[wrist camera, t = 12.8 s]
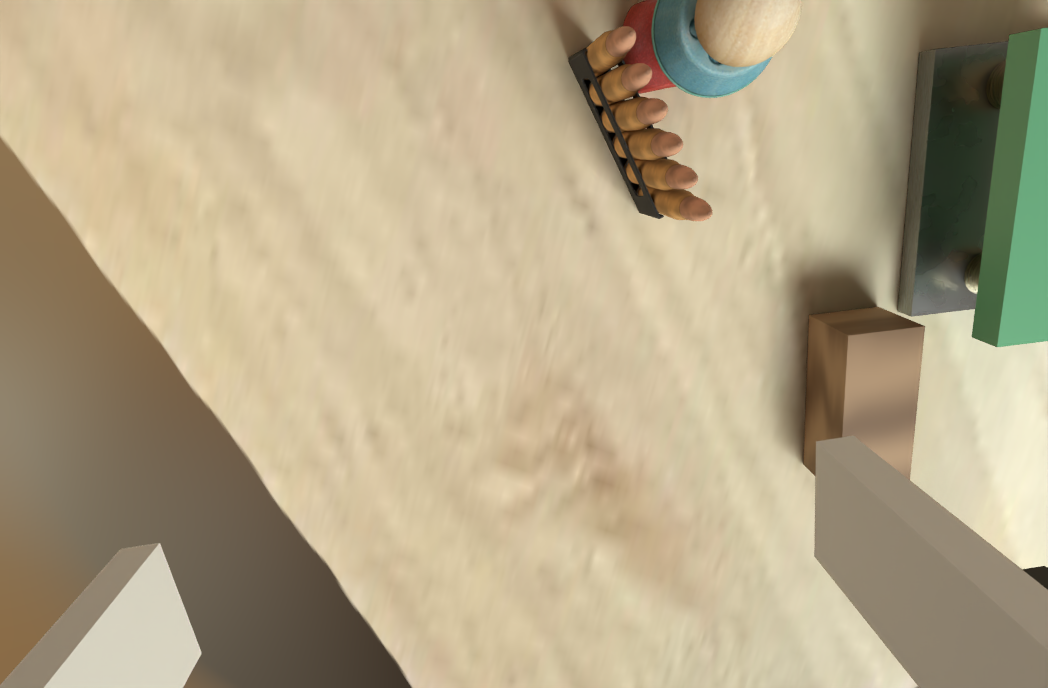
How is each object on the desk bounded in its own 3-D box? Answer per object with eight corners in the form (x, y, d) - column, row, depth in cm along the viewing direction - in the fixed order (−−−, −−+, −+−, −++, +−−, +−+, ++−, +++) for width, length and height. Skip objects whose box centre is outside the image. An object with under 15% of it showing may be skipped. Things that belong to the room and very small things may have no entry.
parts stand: (808, 315, 44) (848, 335, 40) (877, 306, 45) (924, 326, 40) (803, 464, 48) (838, 499, 43) (866, 456, 48) (908, 490, 44)
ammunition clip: (567, 58, 38) (602, 23, 27) (593, 43, 38) (641, 0, 27) (640, 214, 41) (699, 240, 30) (665, 200, 41) (734, 221, 30)
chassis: (919, 52, 39) (1049, 25, 30) (1072, 35, 40) (1246, 4, 31) (897, 310, 45) (1002, 353, 36) (1032, 294, 45) (1170, 332, 36)
